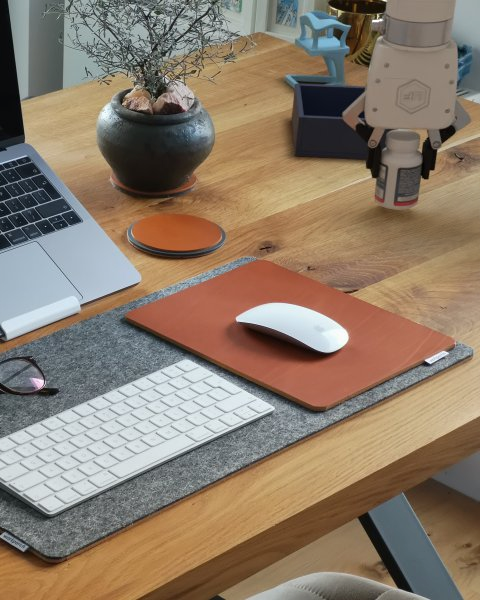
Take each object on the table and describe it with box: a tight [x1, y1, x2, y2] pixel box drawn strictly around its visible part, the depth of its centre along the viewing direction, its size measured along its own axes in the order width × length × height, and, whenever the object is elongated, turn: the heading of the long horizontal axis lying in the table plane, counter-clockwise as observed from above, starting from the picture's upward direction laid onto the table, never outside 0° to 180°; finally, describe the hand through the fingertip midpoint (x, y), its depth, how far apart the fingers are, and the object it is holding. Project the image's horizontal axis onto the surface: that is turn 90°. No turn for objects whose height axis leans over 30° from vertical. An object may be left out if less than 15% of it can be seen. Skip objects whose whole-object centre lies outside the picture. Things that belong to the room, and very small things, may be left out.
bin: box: [291, 83, 398, 161], centre depth 158 cm, size 13×13×6 cm
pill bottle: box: [373, 129, 423, 211], centre depth 136 cm, size 5×5×9 cm
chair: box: [284, 10, 352, 90], centre depth 175 cm, size 8×8×12 cm
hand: (399, 173), depth 137 cm, fingers closed on pill bottle, 5 cm apart
